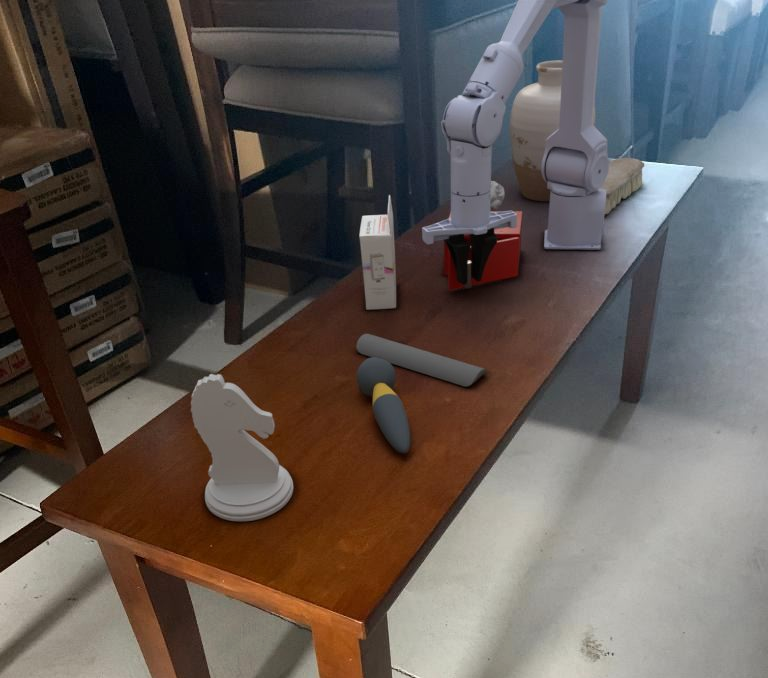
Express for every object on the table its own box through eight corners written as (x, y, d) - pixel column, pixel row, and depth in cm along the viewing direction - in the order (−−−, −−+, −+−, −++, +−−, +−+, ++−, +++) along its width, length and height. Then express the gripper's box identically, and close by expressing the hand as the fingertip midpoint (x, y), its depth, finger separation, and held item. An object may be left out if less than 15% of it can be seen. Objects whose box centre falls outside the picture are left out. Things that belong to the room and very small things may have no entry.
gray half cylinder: (472, 389, 100) (472, 377, 99) (354, 352, 109) (353, 341, 108) (489, 375, 102) (489, 363, 101) (372, 340, 112) (371, 328, 111)
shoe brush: (604, 222, 141) (607, 194, 138) (565, 216, 144) (568, 189, 141) (648, 183, 156) (652, 156, 152) (612, 178, 159) (615, 152, 156)
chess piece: (289, 519, 82) (267, 399, 72) (198, 524, 83) (164, 405, 73) (297, 464, 90) (277, 348, 80) (213, 468, 90) (184, 354, 80)
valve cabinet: (520, 252, 133) (522, 211, 128) (517, 276, 125) (519, 233, 121) (450, 251, 135) (450, 211, 130) (444, 275, 127) (443, 233, 123)
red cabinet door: (515, 274, 125) (517, 236, 121) (525, 283, 122) (528, 244, 118) (448, 288, 122) (448, 250, 118) (457, 297, 120) (457, 258, 116)
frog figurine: (510, 220, 145) (512, 181, 140) (481, 229, 142) (482, 190, 137) (489, 211, 149) (490, 174, 144) (461, 220, 146) (461, 182, 141)
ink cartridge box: (366, 287, 126) (359, 194, 116) (397, 285, 125) (392, 192, 116) (364, 310, 119) (356, 214, 110) (396, 309, 119) (391, 213, 109)
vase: (490, 197, 155) (494, 68, 140) (536, 176, 163) (544, 52, 148) (558, 212, 146) (569, 77, 131) (602, 189, 154) (618, 59, 140)
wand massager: (435, 453, 90) (434, 417, 86) (395, 463, 89) (392, 426, 86) (384, 373, 104) (382, 340, 101) (349, 381, 103) (346, 347, 100)
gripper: (434, 207, 106) (435, 299, 115) (529, 189, 109) (523, 281, 118) (415, 192, 111) (418, 282, 120) (506, 175, 114) (502, 264, 123)
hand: (469, 280), depth 119 cm, fingers closed
